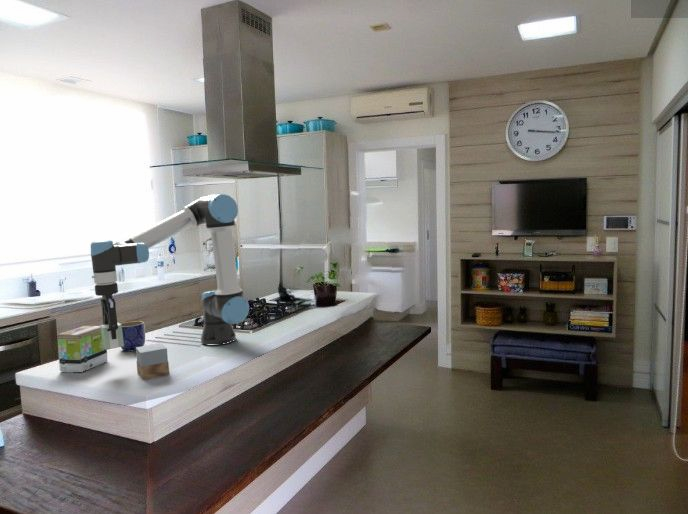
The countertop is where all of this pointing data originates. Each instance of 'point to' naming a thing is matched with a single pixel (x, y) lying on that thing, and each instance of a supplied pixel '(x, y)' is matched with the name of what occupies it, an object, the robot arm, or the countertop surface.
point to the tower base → (153, 370)
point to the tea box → (81, 349)
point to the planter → (133, 335)
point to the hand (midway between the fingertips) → (112, 345)
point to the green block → (106, 336)
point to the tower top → (151, 354)
